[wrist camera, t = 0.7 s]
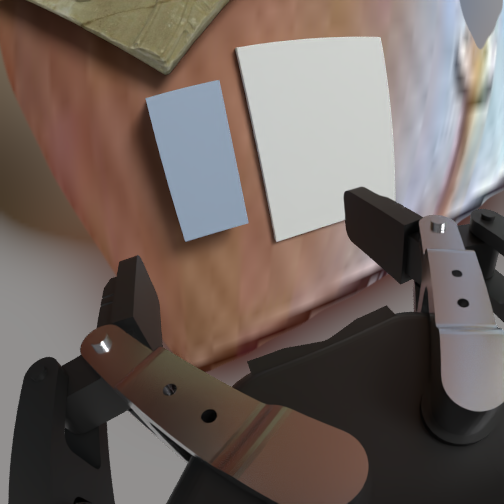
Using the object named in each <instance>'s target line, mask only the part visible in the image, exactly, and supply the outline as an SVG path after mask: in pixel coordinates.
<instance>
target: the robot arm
mask: <svg viewBox="0 0 504 504" xmlns="http://www.w3.org/2000/svg"><path fill="white" fill-rule="evenodd" d="M343 198H344V211H345V224H346V231H347V234H348V237H349V238H350V240H351V241H352V242H353V243H354V244H355V245H356V246H357V247H359V248H360V249H361V250H362V251H363V252H364V253H366V254H367V255H368V256H369V257H370V258H371V259H373V260H374V261H375V262H376V263H377V264H378V265H379V266H381V267H382V268H383V269H384V270H385V271H386V272H387V273H388V274H390V275H391V276H392V277H393V278H394V279H395V280H396V281H397V282H398V283H400V284H403V283H405V282H407V281H409V280H411V279H413V280H414V285H413V297H414V299H413V300H414V312H404V313H397V314H394V313H393V312H392V311H391V310H390V309H389V308H388V307H387V306H384V307H382V308H380V309H378V310H376V311H374V312H371V313H369V314H367V315H365V316H363V317H360V318H358V319H356V320H354V321H353V322H352V323H350V324H349V325H348V326H346V327H345V328H344V329H342V330H341V331H339V332H338V333H337V334H335V335H334V336H332V337H331V338H329V339H328V340H325V341H322V342H317V343H311V344H306V345H301V346H295V347H289V348H284V349H281V350H278V351H276V352H273V353H270V354H267V355H265V356H262V357H259V358H256V359H253V360H250V361H248V362H247V363H248V365H249V368H250V371H251V373H250V374H248V375H246V376H245V377H243V378H242V379H241V380H239V381H238V382H236V383H235V384H234V385H233V386H232V387H231V386H229V385H227V384H225V383H223V382H221V381H219V380H218V379H216V378H214V377H212V376H210V375H209V374H207V373H205V372H203V371H202V370H200V369H198V368H196V367H195V366H193V365H191V364H190V363H188V362H186V361H185V360H183V359H181V358H180V357H178V356H176V355H175V354H173V353H171V352H170V351H168V350H166V349H165V348H163V345H162V332H161V319H160V305H159V300H158V297H157V294H156V291H155V289H154V286H153V284H152V282H151V280H150V278H149V275H148V273H147V271H146V268H145V266H144V264H143V262H142V260H141V258H140V256H139V255H137V256H135V257H132V258H129V259H126V260H123V261H120V262H119V267H118V272H117V277H114V278H111V279H110V280H109V282H108V283H107V285H106V286H105V288H104V291H103V296H102V298H103V299H102V301H101V307H100V312H99V317H98V323H97V328H96V329H95V330H93V331H92V332H90V334H88V335H87V336H86V337H85V339H84V340H83V342H82V344H81V348H80V352H81V355H80V356H79V357H77V358H75V359H74V360H72V361H70V362H68V363H66V364H65V365H63V366H61V365H60V364H59V363H58V362H57V361H56V359H54V358H52V357H45V358H42V359H40V360H38V361H37V362H35V363H34V364H33V365H32V366H31V367H30V368H29V369H28V371H27V373H26V374H25V376H24V380H23V385H22V389H21V394H20V400H19V405H18V410H17V416H16V423H15V429H14V436H13V444H12V453H11V463H10V477H9V503H8V504H115V501H114V494H113V487H112V479H111V470H110V461H109V450H108V437H107V421H109V420H111V419H112V418H114V417H116V416H118V415H120V414H122V413H123V412H125V411H128V412H129V413H130V414H131V415H132V416H133V417H134V418H135V419H137V420H138V421H139V422H140V423H141V424H142V425H143V426H144V427H145V428H146V429H148V430H149V431H150V432H151V433H152V434H153V435H155V436H156V437H157V438H158V439H159V440H160V441H162V442H163V443H164V444H165V445H166V446H167V447H168V448H170V449H171V450H172V451H173V452H174V453H175V454H176V455H178V456H179V457H180V458H181V459H183V460H184V461H185V462H186V463H188V464H187V466H186V468H185V470H184V472H183V474H182V475H181V477H180V479H179V481H178V483H177V485H176V487H175V488H174V490H173V492H172V494H171V496H170V498H169V500H168V502H167V503H166V504H504V331H503V330H502V329H500V328H498V327H497V325H496V322H495V318H494V314H493V312H494V313H495V314H496V315H497V316H498V317H499V318H500V319H501V320H502V321H503V322H504V276H503V275H502V274H500V273H499V272H498V271H497V270H495V266H496V262H497V257H498V254H499V253H500V254H502V255H503V256H504V217H503V216H501V215H499V214H498V213H496V212H494V211H491V210H486V209H478V210H475V211H473V212H472V213H471V218H470V224H467V225H461V226H457V224H456V223H455V222H454V221H453V220H451V219H450V218H447V217H444V216H440V215H429V216H425V217H421V216H420V215H418V214H416V213H415V212H413V211H411V210H409V209H408V208H406V207H404V206H403V205H401V204H399V203H397V202H395V201H394V200H392V199H390V198H388V197H384V196H381V195H378V194H376V193H374V192H372V191H371V190H369V189H367V188H365V187H358V188H354V189H351V190H347V191H345V192H344V197H343Z"/></svg>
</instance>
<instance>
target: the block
mask: <svg viewBox="0 0 504 504" xmlns="http://www.w3.org/2000/svg"><path fill="white" fill-rule="evenodd" d="M146 102H147V106H148V110H149V114H150V118H151V122H152V126H153V130H154V134H155V138H156V142H157V146H158V149H159V153H160V157H161V160H162V164H163V168H164V171H165V175H166V178H167V182H168V185H169V189H170V192H171V196H172V199H173V203H174V206H175V209H176V213H177V216H178V219H179V223H180V226H181V229H182V232H183V236H184V239H185V242H186V241H189V240H193V239H196V238H199V237H203V236H206V235H209V234H213V233H216V232H219V231H223V230H226V229H230V228H233V227H237V226H240V225H243V224H247V223H248V218H247V213H246V208H245V203H244V198H243V193H242V188H241V183H240V178H239V174H238V169H237V164H236V159H235V154H234V149H233V144H232V139H231V135H230V130H229V125H228V120H227V115H226V110H225V105H224V101H223V96H222V91H221V86H220V81H219V80H217V81H212V82H208V83H203V84H199V85H194V86H190V87H186V88H182V89H178V90H174V91H170V92H167V93H163V94H159V95H156V96H152V97H149V98H146Z"/></svg>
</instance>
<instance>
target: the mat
mask: <svg viewBox="0 0 504 504" xmlns="http://www.w3.org/2000/svg"><path fill="white" fill-rule="evenodd" d="M235 51H236V56H237V60H238V64H239V69H240V73H241V78H242V82H243V87H244V91H245V96H246V100H247V105H248V110H249V114H250V119H251V124H252V128H253V133H254V138H255V143H256V147H257V152H258V157H259V162H260V167H261V172H262V177H263V182H264V187H265V192H266V197H267V202H268V207H269V212H270V217H271V222H272V227H273V233H274V238H275V240H276V242H278V241H281V240H284V239H287V238H290V237H293V236H297V235H300V234H303V233H306V232H309V231H312V230H315V229H318V228H321V227H324V226H327V225H330V224H334V223H337V222H340V221H343V220H345V211H344V198H343V197H344V192H345V191H347V190H351V189H354V188H358V187H365V188H367V189H369V190H371V191H372V192H374V193H376V194H378V195H381V196H384V197H388V198H390V199H392V200H394V201H395V164H394V144H393V130H392V118H391V107H390V98H389V89H388V81H387V74H386V67H385V61H384V54H383V48H382V43H381V37H331V38H313V39H300V40H289V41H280V42H272V43H264V44H257V45H250V46H244V47H238V48H235Z"/></svg>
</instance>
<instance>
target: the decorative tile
mask: <svg viewBox="0 0 504 504" xmlns="http://www.w3.org/2000/svg"><path fill="white" fill-rule="evenodd" d="M27 1H29V2H31V3H34V4H36V5H38V6H40V7H42V8H44V9H46V10H49V11H51V12H53V13H55V14H57V15H59V16H61V17H63V18H65V19H67V20H69V21H71V22H73V23H75V24H77V25H79V26H81V27H83V28H84V29H86V30H87V31H89V32H91V33H93V34H95V35H97V36H99V37H101V38H102V39H104V40H106V41H108V42H110V43H111V44H113V45H115V46H117V47H119V48H120V49H122V50H124V51H126V52H127V53H129V54H131V55H132V56H134V57H136V58H137V59H139V60H141V61H143V62H144V63H146V64H148V65H149V66H151V67H153V68H154V69H156V70H158V71H159V72H161V73H163V74H165V75H167V74H169V73H171V71H172V70H173V69H174V68H175V66H176V65H177V64H178V62H179V61H180V60H181V58H182V57H183V56H184V55H185V53H186V52H187V51H188V49H189V48H190V46H191V45H192V44H193V43H194V42H195V40H196V39H197V38H198V37H199V36H200V35H201V34H202V32H203V31H204V30H205V29H206V28H207V26H208V25H209V24H210V23H211V22H212V20H213V19H214V18H215V17H216V16H217V15H218V13H219V12H220V11H221V10H222V8H223V7H224V6H225V5H226V4H227V3H228V2H229V1H230V0H27Z"/></svg>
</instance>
